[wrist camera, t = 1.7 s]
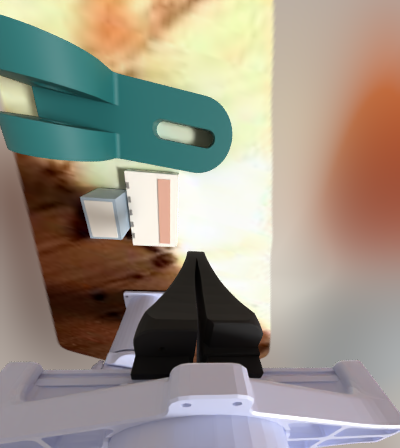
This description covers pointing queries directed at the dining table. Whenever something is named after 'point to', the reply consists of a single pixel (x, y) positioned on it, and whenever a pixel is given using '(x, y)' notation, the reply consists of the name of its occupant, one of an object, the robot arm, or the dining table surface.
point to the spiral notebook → (153, 207)
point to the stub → (106, 213)
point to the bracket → (100, 108)
